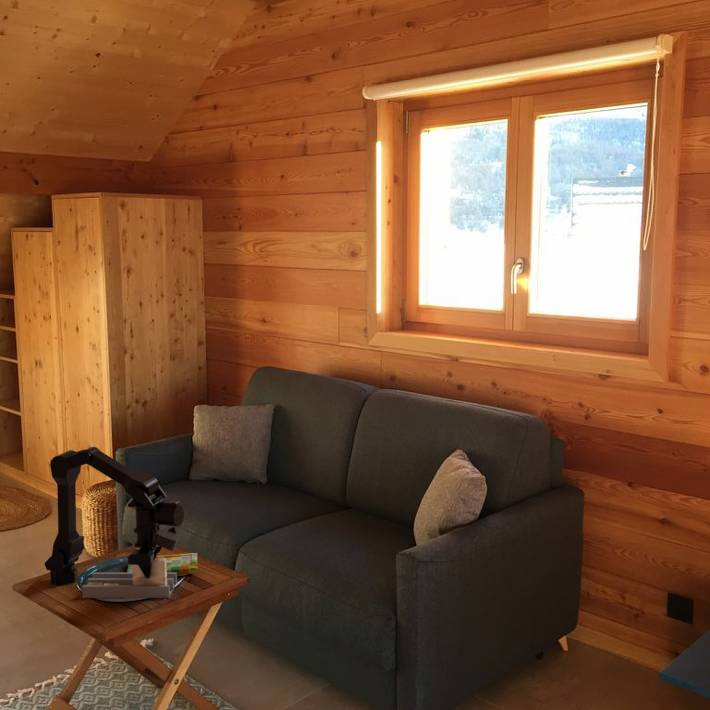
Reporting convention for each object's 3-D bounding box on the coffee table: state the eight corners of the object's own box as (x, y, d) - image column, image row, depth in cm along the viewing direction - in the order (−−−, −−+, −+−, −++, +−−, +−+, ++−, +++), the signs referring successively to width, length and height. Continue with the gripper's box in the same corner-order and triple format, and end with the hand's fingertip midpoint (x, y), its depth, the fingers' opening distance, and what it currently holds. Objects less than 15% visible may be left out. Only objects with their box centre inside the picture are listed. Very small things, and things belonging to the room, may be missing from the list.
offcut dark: (86, 594, 244) (85, 585, 243) (88, 590, 246) (88, 582, 246) (100, 594, 244) (100, 585, 243) (103, 590, 246) (102, 582, 245)
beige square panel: (133, 591, 244) (131, 561, 242) (135, 588, 245) (133, 558, 244) (165, 592, 243) (164, 561, 242) (167, 588, 245) (166, 558, 244)
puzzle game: (129, 555, 264) (197, 550, 267) (130, 570, 264) (197, 564, 268) (126, 571, 252) (197, 565, 256) (127, 586, 253) (197, 580, 256)
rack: (82, 602, 242) (81, 587, 241) (93, 587, 252) (92, 572, 251) (169, 602, 241) (168, 587, 241) (177, 587, 251) (176, 572, 251)
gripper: (167, 535, 232) (170, 591, 234) (183, 511, 250) (185, 563, 253) (125, 535, 232) (128, 590, 235) (144, 511, 250) (146, 563, 253)
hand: (149, 576), depth 244 cm, fingers closed on beige square panel, 2 cm apart
